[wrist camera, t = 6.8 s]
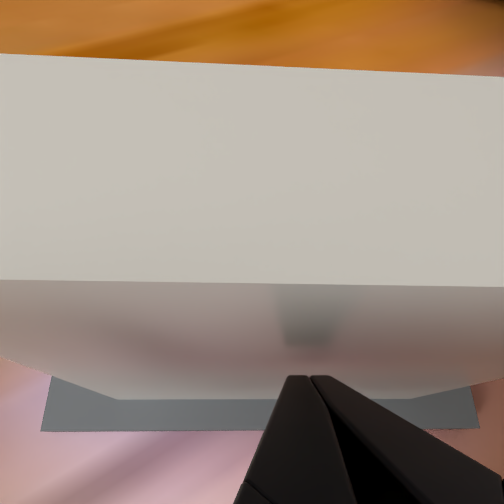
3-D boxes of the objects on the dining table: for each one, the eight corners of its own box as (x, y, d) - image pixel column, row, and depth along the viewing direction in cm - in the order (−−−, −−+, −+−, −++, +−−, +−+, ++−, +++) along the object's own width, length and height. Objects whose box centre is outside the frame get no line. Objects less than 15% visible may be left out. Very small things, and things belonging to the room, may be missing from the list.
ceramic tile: (409, 398, 15) (893, 292, 4) (117, 399, 14) (-222, 276, 3) (396, 320, 16) (735, 85, 5) (127, 318, 16) (-93, 46, 5)
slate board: (465, 428, 16) (480, 428, 15) (51, 431, 15) (40, 431, 14) (391, 98, 23) (398, 84, 22) (119, 86, 22) (114, 71, 21)
